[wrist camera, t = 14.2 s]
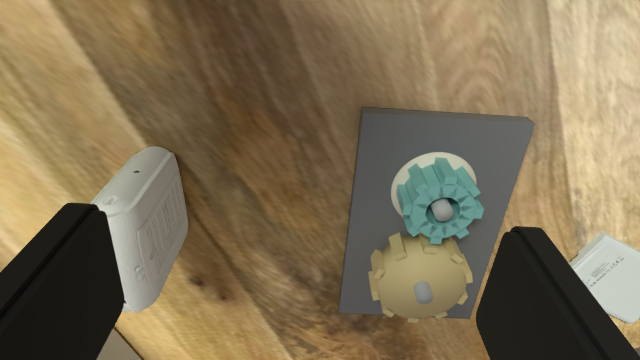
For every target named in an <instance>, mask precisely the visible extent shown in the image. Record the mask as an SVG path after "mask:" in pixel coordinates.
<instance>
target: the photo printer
mask: <svg viewBox="0 0 640 360" xmlns="http://www.w3.org/2000/svg"><path fill="white" fill-rule="evenodd" d="M90 204H95V205H97V206H98V208H99V210H100V211H104V212H105V213H106V215H107V219H108V224H109V228H110V233H111V237H112V242H113V246H114V251H115V256H116V260H117V265H118V269H119V274H120V278H121V283H122V288H123V292H124V306H123V310H122V312H127V311H133V312H140V311H142V310H144V309H146V308H148V307H149V306H151V305H152V304H153V303H154V302H155V301H156V300H157V298H158V297H159V295H160V293H161V291H162V288H163V286H164V284H165V282H166V280H167V277H168V275H169V273H170V271H171V269H172V266H173V264H174V262H175V260H176V258H177V256H178V253H179V251H180V249H181V247H182V245H183V243H184V241H185V238H186V236H187V233H188V217H187V210H186V204H185V199H184V193H183V188H182V182H181V177H180V172H179V168H178V164H177V161H176V158H175V155H174V153H172V152H169V151H168V150H167V149H165V148H162V147H156V146H152V147H147V148H145V149H143V150H142V151H141V152H137V153H135V154H134V155H133V156H132V157H131V158H130V159H129V160H128V161H127V162H126V163H125V164H124V165H123V167H122V168H121V169H120V170H119V171H118V172H117V173H116V175H115V176H114V177H113V178H112V179H111V180H110V181H109V182H108V184H107V185H106V186H105V187H104V188H103V189H102V190H101V191H100V193H99V194H98V195H97V196H96V197H95V198H94V199H93V200H92V202H91V203H90Z"/></svg>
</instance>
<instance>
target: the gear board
mask: <svg viewBox="0 0 640 360" xmlns="http://www.w3.org/2000/svg"><path fill="white" fill-rule="evenodd" d="M534 125H535V123H534V122H533V121H531V120H530V119H529V118H528V117H518V116H501V115H485V114H469V113H453V112H436V111H420V110H404V109H388V108H371V107H362V109H361V118H360V126H359V135H358V143H357V151H356V160H355V168H354V177H353V185H352V194H351V202H350V211H349V219H348V227H347V236H346V244H345V253H344V261H343V270H342V278H341V287H340V295H339V313H352V314H374V315H388V316H389V317H392V316H393V315H396V316H402V317H406V319H407V322H410V323H419V320H420V318H428V317H436V319H440V318H462V319H470V316H471V313H472V310H473V307H474V304H475V301H476V298H477V295H478V292H479V289H480V286H481V283H482V280H483V277H484V274H485V271H486V268H487V265H488V262H489V259H490V256H491V253H492V250H493V247H494V244H495V241H496V238H497V235H498V232H499V229H500V226H501V223H502V220H503V217H504V214H505V211H506V208H507V205H508V202H509V199H510V196H511V193H512V190H513V187H514V184H515V181H516V178H517V175H518V172H519V169H520V166H521V163H522V160H523V157H524V154H525V151H526V148H527V145H528V142H529V139H530V136H531V134H532V131H533V128H534ZM435 157H438V158H447V160H448V162H449V163H450V165H451V167H452V168H453V169H455V170H456V169H458V168H459V167H461V166H463V167H464V168H465V169H466V171H467V172H468V173H469V175H470V176H471V178H472V179H473V181H474V183H475V184H476V186H477V187H478V189H479V190H480V192H481V193H480V194H479V195H477V196H476V197H477V198H478V200H479V202H480V203H481V205H482V207H483V208H484V211H483V214H482V218H481V219H478V218H473V220H472V222H471V223H470V224H469V225H468V226H467V229H468V231H469V234H467V235H466V236H464V237H462V238H461V239H459V238H458V236H457V235H456V234H455V235H452V236H449V237H447V238H442V241H441V244H430V243H429V240H428V237H427V236H425V235H424V234H422V233H419V234H417V235H416V236H414V237H413V236H412V235H411V234H410V233H409V232H408V231H407V229H406V225H405V222H404V219H403V215H402V212H401V209H400V205H399V202H398V199H397V195H396V190H397V184H402V185H405V183H406V181H407V180H408V179H409V178H410V175H409V172H408V170H407V169H409V168H410V167H411V166H413V165H414V164H416V163H417V164H418V165H419V167H420V168H423V167H425V166H428V165H430V164H431V165H432V164H434V161H435ZM430 206H431V208H432V211H433V213H434V216H435V218H436V219H437V220H438V221H447V220H449V219H450V218H451V217H452V216H453V210H452V208H451V206H450V203H449V201H448V199H447V197H441V198H439V199H436V200H434V201H432V202H431V203H430Z"/></svg>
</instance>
